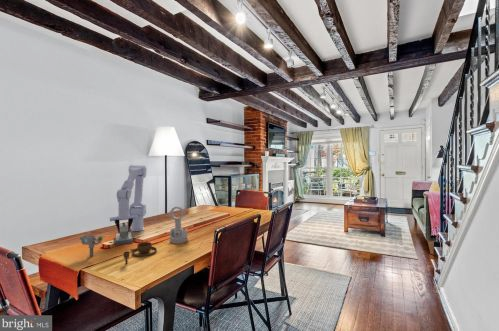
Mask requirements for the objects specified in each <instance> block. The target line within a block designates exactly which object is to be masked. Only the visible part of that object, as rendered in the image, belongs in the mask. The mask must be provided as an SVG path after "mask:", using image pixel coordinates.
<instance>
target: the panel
mask: <svg viewBox="0 0 499 331" xmlns="http://www.w3.org/2000/svg"><path fill="white" fill-rule="evenodd" d="M114 241H115V242H114V245H115V244H116V245H117V246H118V245H126V244H127V245H128V244H133V242H134V239H133V234H132V232H131V231H129V232H128V236H125V237H120V234H119V233H116V234H115V235H114ZM116 245H115V246H116Z"/></svg>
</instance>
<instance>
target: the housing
mask: <svg viewBox="0 0 499 331" xmlns="http://www.w3.org/2000/svg"><path fill="white" fill-rule="evenodd" d="M119 228H120V233H118V234H120V237H125V236H128V233H129V232H128V222H121V223H120V222H119Z"/></svg>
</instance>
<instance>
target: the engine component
mask: <svg viewBox="0 0 499 331" xmlns="http://www.w3.org/2000/svg"><path fill="white" fill-rule="evenodd" d="M176 209H178V210H179V211H180V212H181V215H180V216H179V217H176V216H175V215H174V210H176ZM169 217H170V218H172V219H173V220H174V226H175V227H173V228H170V230H169V235H170V236H169V242H170V243H172V244H181V243H185V242H187V241H188V228H185V230H184V229H183V228H182V218H184V217H186V211H185V210H184V208H183V207H182V206H179V205H178V206H173V208H171V210H169Z"/></svg>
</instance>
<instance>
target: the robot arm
mask: <svg viewBox="0 0 499 331" xmlns="http://www.w3.org/2000/svg"><path fill="white" fill-rule="evenodd" d="M146 167H147V166H146V165H145V164H143V165H137V164H130V165H129V166H128V177H127V179H125V180H124V182H123V184H122V185H121V188H120V189H118V190H117V191H116V199H117V203H118V207H117V208H118V210H117V211H118V216H111V217H109V222H114V224H115V226H116V228H117V231H118V233H117V234H119V233H120V228H119V225H120V221H127V223H128V233H129V232H131V233H132V232H139V231H140V232H141V231H145V227H144V217H145V216H146V214H147V205H146V204H145V203H144V202H142V201H143V188H144V178H146V176H147V168H146ZM134 182H135V184H134ZM133 188H134V197H133V202H132V203H130V199H131V196H132V190H133Z"/></svg>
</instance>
